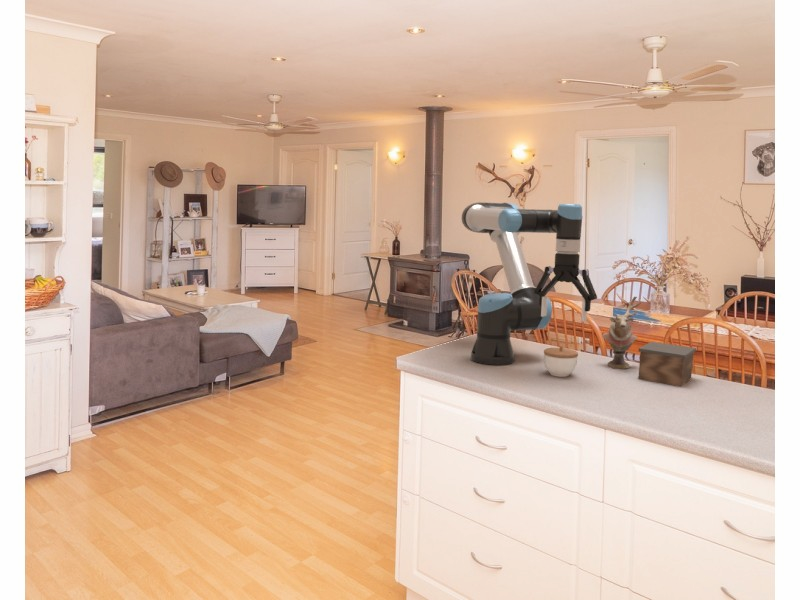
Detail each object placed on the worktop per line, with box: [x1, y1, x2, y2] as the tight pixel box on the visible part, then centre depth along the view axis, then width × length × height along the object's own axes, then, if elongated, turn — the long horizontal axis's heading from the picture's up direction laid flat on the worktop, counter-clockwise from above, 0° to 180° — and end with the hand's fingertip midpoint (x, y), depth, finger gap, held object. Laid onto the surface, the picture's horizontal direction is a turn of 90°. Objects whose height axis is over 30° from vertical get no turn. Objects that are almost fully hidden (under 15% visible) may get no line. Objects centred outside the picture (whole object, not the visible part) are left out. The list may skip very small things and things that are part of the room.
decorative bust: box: [601, 296, 642, 370], centre depth 217 cm, size 11×13×25 cm
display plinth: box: [637, 341, 697, 387], centre depth 205 cm, size 14×14×10 cm
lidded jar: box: [543, 345, 579, 378], centre depth 207 cm, size 11×11×9 cm
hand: (563, 318), depth 204 cm, fingers open, 13 cm apart
